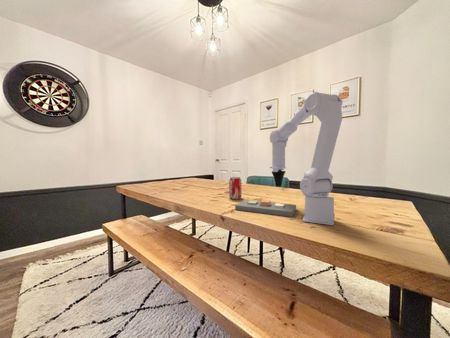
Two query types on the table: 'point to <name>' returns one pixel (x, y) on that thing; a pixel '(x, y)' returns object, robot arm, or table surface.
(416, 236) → the table surface
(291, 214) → the key board
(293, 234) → the table surface
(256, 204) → the sage key
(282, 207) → the cream key
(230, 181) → the soda can
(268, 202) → the terracotta key
